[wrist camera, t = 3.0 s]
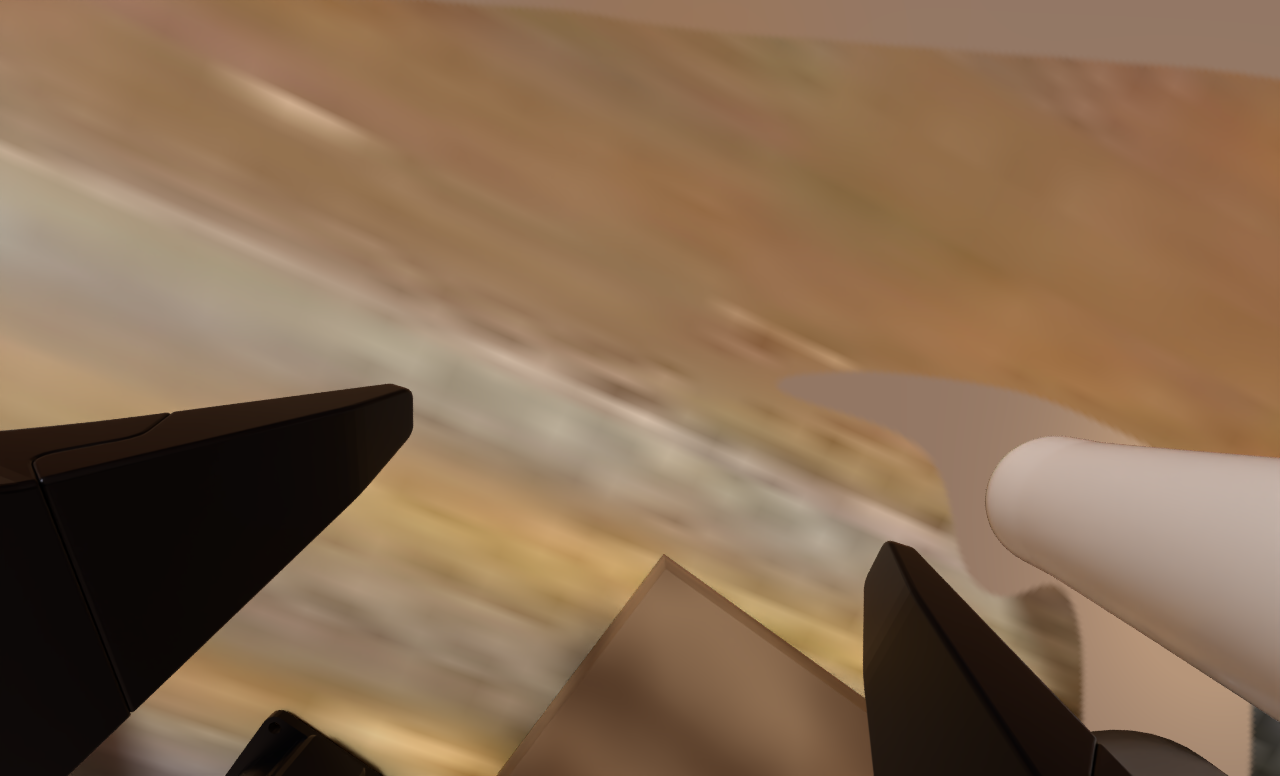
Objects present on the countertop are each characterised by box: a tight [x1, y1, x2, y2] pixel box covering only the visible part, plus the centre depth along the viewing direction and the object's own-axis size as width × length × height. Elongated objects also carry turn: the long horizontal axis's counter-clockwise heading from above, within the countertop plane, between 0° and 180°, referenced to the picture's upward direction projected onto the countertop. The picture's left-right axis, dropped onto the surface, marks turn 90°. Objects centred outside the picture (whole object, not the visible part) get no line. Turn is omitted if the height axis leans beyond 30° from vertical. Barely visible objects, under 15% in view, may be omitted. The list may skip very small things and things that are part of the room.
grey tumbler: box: [985, 436, 1280, 722], centre depth 14 cm, size 7×7×15 cm
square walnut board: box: [497, 554, 874, 776], centre depth 21 cm, size 12×12×2 cm
